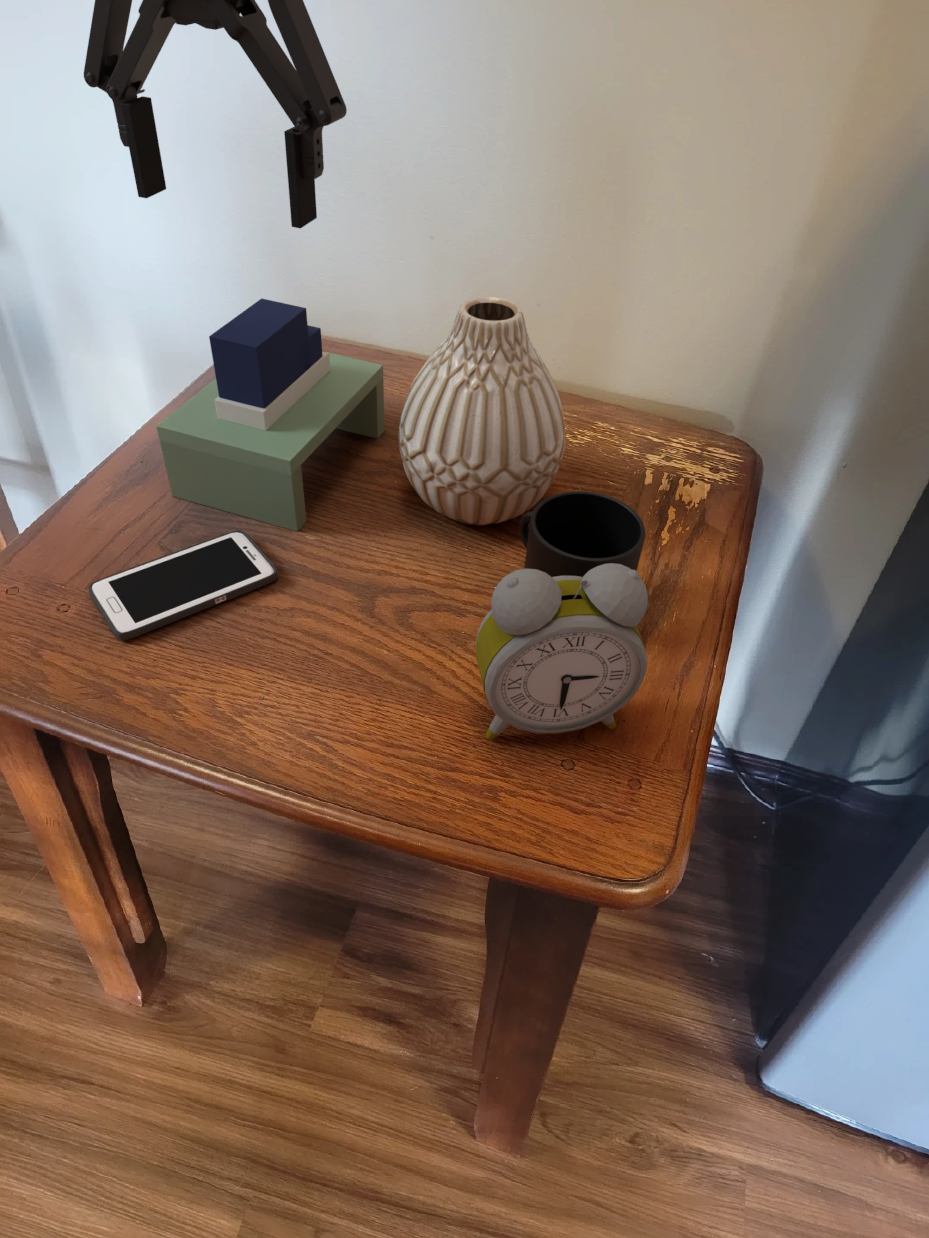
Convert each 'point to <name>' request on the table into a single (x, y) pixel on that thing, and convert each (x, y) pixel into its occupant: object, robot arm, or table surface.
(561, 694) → the alarm clock
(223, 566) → the cell phone
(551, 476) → the vase
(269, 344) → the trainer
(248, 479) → the sage green footstool
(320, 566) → the table surface
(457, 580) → the table surface
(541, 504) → the mug
